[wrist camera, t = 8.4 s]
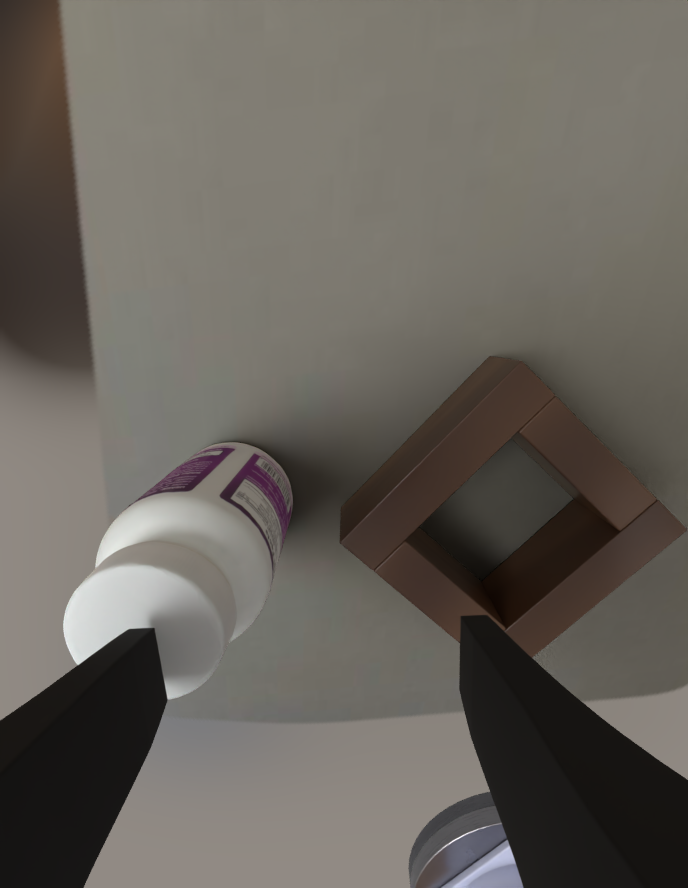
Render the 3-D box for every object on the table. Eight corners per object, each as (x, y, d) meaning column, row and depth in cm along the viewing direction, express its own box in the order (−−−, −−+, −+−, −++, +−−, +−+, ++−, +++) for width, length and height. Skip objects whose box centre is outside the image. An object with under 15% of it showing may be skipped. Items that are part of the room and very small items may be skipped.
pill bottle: (175, 538, 20) (29, 709, 11) (184, 430, 19) (27, 521, 10) (287, 556, 21) (237, 739, 11) (304, 451, 19) (263, 559, 10)
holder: (629, 496, 20) (688, 530, 16) (479, 626, 21) (504, 681, 18) (489, 355, 18) (522, 360, 15) (340, 507, 20) (338, 543, 17)
